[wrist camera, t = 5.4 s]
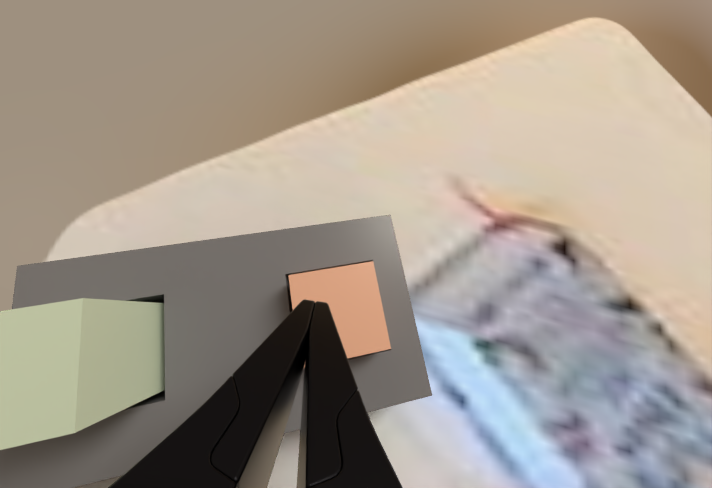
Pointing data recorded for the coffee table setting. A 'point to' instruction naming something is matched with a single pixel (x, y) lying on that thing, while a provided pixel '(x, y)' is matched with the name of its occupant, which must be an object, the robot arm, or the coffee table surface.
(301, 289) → the terracotta key
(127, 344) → the sage key
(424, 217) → the coffee table surface
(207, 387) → the keypad
